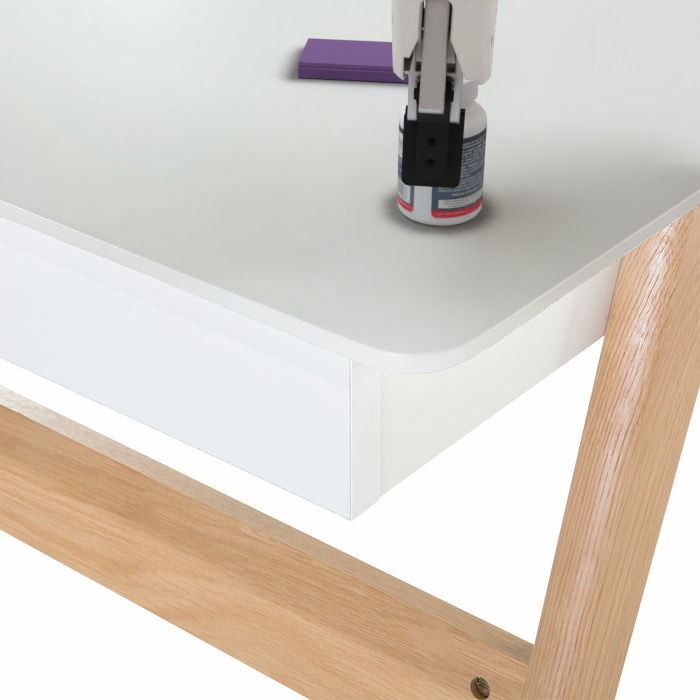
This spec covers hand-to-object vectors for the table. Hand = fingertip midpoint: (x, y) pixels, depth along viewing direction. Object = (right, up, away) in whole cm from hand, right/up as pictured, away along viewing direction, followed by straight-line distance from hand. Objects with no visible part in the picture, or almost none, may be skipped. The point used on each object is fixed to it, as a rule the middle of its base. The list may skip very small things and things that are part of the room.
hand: (431, 179), depth 68 cm
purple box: (-2, +13, +28) cm, 31 cm away
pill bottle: (+1, -1, +9) cm, 9 cm away
